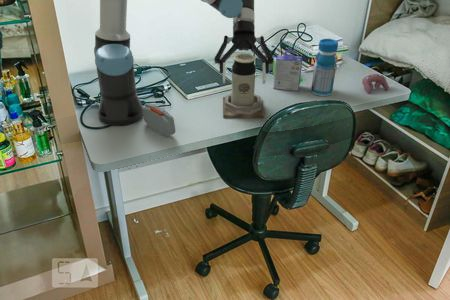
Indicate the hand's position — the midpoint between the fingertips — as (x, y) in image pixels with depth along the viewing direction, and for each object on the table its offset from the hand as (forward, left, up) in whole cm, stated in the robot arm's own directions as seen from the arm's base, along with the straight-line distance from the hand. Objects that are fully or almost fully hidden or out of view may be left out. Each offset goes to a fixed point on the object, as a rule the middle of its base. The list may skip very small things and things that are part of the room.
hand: (244, 82), depth 150 cm
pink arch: (+52, +19, -11) cm, 57 cm away
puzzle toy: (+17, +32, -11) cm, 38 cm away
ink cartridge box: (+18, +20, -11) cm, 29 cm away
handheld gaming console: (-28, -14, -11) cm, 33 cm away
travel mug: (0, +2, -10) cm, 11 cm away
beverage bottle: (+31, +16, -11) cm, 37 cm away
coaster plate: (0, +2, -11) cm, 11 cm away
